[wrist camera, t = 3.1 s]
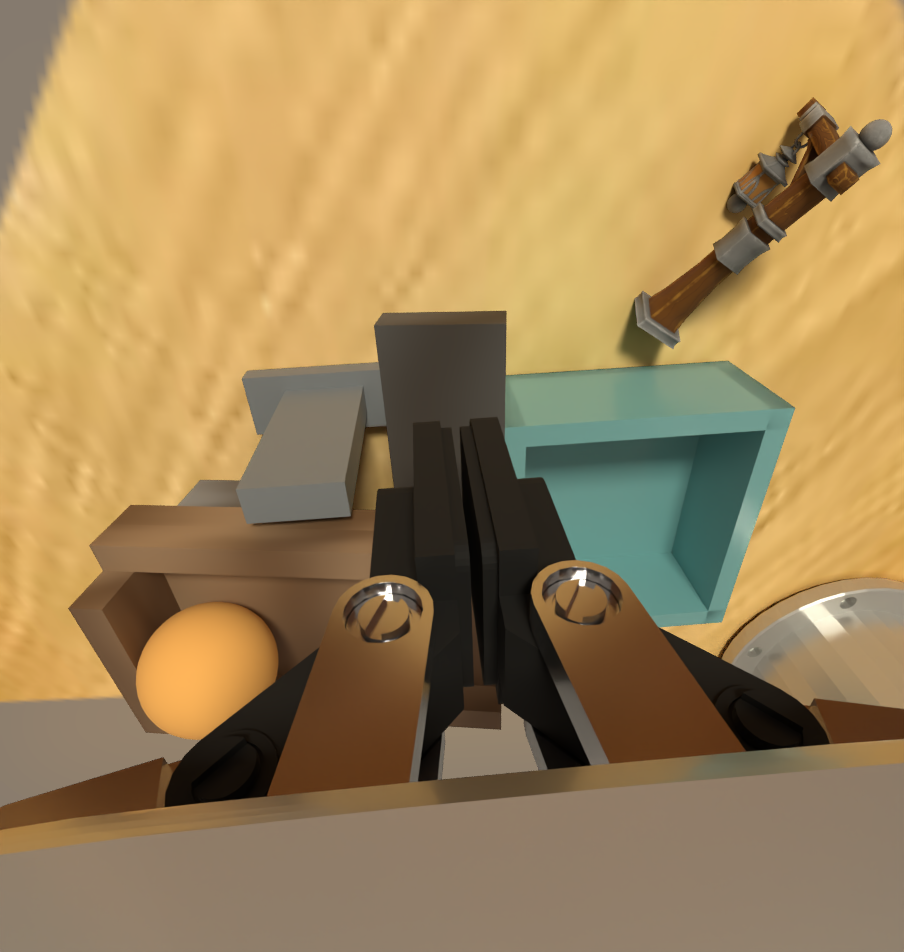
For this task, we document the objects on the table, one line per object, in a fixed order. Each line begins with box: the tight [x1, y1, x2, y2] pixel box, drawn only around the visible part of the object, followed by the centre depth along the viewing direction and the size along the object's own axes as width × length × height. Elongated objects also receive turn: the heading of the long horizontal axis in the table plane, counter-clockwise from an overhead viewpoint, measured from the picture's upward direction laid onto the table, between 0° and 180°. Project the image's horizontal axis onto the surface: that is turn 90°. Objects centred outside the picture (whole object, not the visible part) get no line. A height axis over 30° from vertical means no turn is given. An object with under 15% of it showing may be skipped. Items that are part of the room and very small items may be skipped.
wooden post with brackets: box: [635, 98, 892, 349], centre depth 18 cm, size 2×8×4 cm, turn 150°
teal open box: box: [505, 361, 795, 627], centre depth 22 cm, size 10×11×4 cm
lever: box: [68, 311, 506, 734], centre depth 17 cm, size 12×14×6 cm
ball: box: [136, 602, 278, 740], centre depth 16 cm, size 4×4×4 cm
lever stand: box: [236, 362, 386, 524], centre depth 21 cm, size 6×12×8 cm, turn 3°
